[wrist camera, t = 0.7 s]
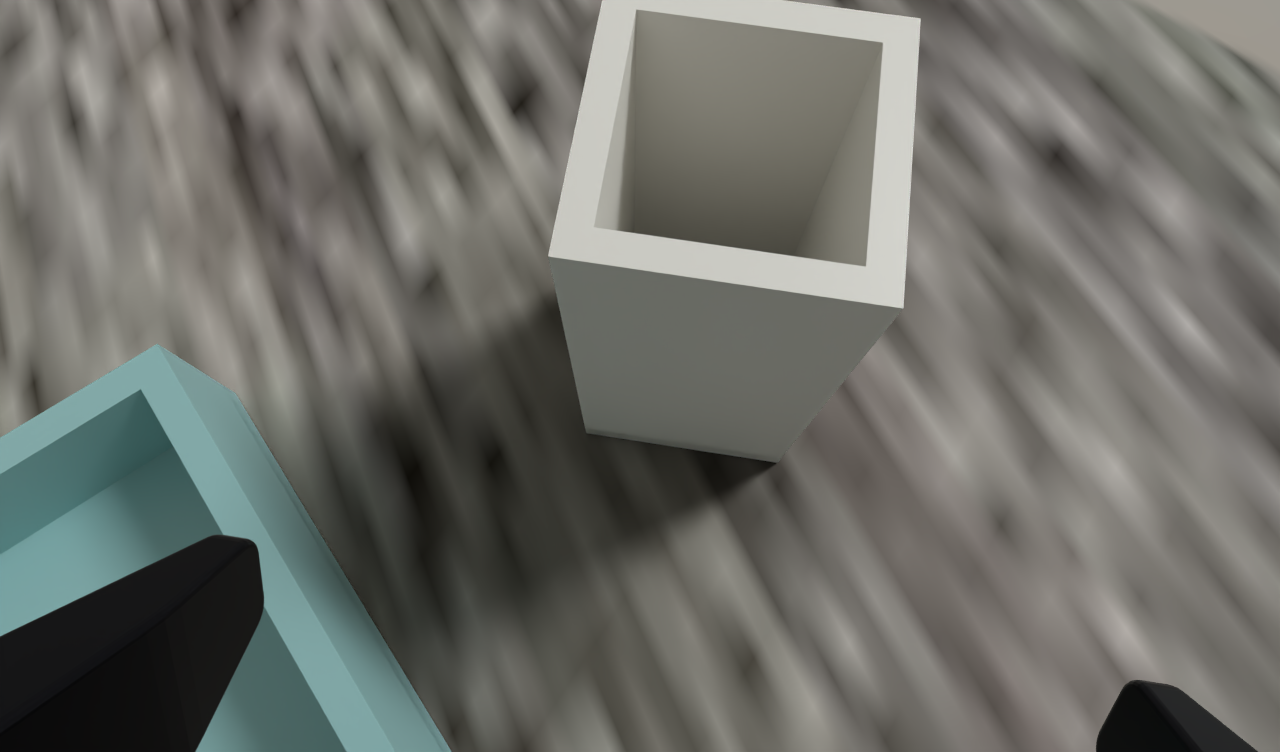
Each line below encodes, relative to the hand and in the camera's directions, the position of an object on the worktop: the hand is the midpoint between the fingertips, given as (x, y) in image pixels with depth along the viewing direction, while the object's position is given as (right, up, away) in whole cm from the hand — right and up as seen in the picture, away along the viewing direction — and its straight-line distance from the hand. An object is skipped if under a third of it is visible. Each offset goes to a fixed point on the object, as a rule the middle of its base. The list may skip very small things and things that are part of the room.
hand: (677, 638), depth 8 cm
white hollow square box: (+1, +3, +15) cm, 16 cm away
